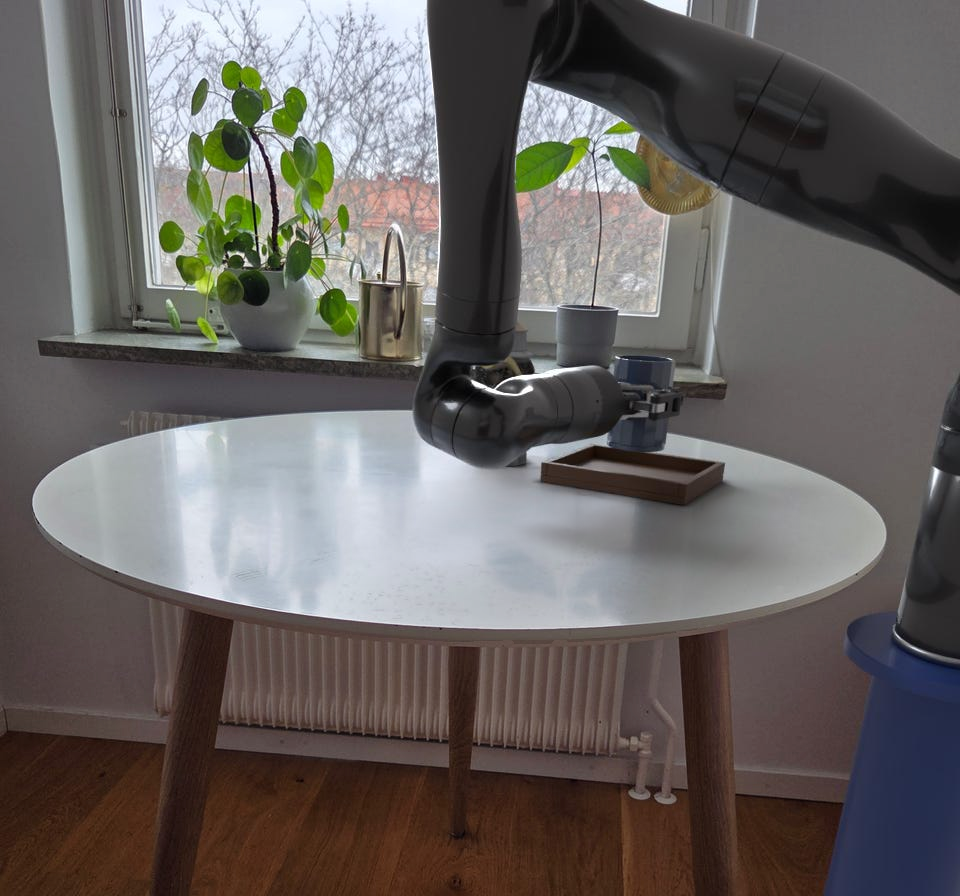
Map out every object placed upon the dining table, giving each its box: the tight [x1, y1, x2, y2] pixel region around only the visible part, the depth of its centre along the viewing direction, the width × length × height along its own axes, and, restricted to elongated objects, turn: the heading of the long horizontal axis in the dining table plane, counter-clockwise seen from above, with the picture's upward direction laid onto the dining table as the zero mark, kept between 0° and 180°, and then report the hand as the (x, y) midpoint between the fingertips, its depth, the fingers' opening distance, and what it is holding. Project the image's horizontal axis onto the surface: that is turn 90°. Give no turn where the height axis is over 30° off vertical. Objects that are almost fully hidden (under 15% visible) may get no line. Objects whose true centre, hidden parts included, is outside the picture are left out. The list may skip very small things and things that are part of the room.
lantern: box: [473, 320, 536, 467], centre depth 115 cm, size 9×8×25 cm
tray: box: [539, 443, 726, 506], centre depth 111 cm, size 18×15×2 cm
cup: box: [606, 354, 677, 453], centre depth 108 cm, size 7×7×10 cm
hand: (650, 392), depth 109 cm, fingers closed on cup, 7 cm apart
